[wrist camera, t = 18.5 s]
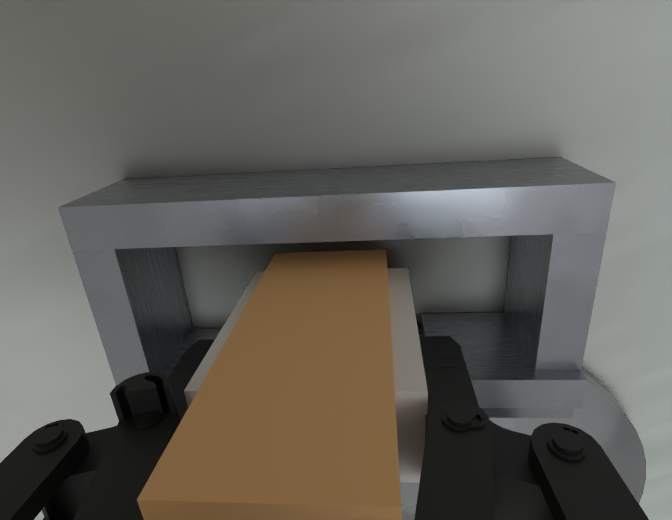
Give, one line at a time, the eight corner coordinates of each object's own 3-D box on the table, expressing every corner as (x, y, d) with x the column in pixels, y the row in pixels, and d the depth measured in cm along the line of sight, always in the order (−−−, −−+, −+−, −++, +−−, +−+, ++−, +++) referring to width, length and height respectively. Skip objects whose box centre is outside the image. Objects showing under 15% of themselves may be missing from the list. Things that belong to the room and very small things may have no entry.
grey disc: (308, 315, 20) (289, 380, 16) (666, 309, 18) (752, 380, 14) (334, 567, 27) (327, 659, 22) (596, 579, 25) (639, 679, 21)
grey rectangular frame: (123, 179, 18) (58, 207, 14) (560, 156, 16) (615, 182, 12) (169, 355, 21) (125, 415, 18) (534, 352, 19) (571, 418, 16)
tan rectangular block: (287, 346, 17) (188, 650, 8) (274, 253, 16) (137, 499, 7) (388, 345, 17) (403, 664, 8) (386, 249, 15) (400, 507, 6)
